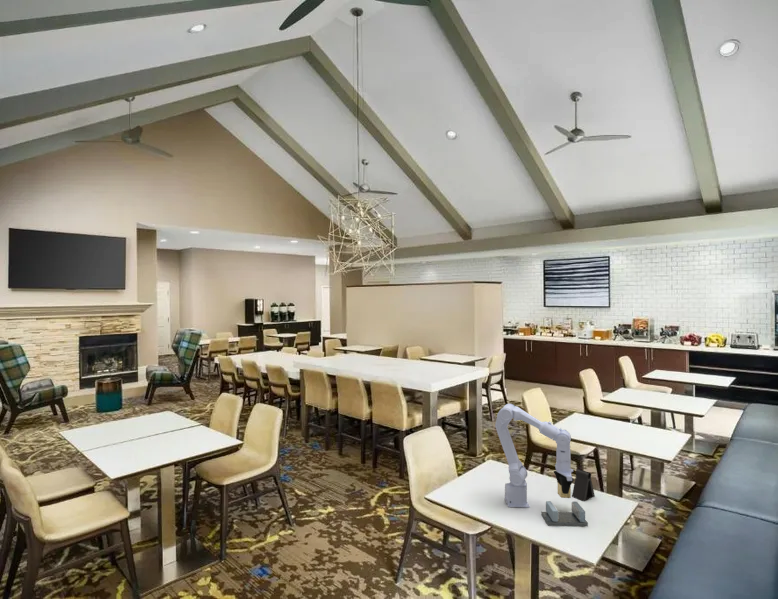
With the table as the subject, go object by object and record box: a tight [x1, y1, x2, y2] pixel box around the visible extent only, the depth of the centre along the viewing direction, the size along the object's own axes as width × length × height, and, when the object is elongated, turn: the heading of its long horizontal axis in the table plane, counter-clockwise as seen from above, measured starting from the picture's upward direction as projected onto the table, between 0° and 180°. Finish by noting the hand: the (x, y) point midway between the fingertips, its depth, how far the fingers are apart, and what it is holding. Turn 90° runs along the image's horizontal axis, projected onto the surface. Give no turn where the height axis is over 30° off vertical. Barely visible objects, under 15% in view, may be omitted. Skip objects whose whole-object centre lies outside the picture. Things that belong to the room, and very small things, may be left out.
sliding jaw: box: [545, 500, 560, 522], centre depth 189 cm, size 2×9×4 cm, turn 178°
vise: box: [540, 501, 589, 527], centre depth 189 cm, size 16×9×6 cm, turn 88°
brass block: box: [557, 482, 572, 499], centre depth 196 cm, size 4×4×5 cm
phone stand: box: [571, 468, 596, 502], centre depth 211 cm, size 9×6×12 cm, turn 125°
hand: (563, 490), depth 196 cm, fingers closed on brass block, 4 cm apart
